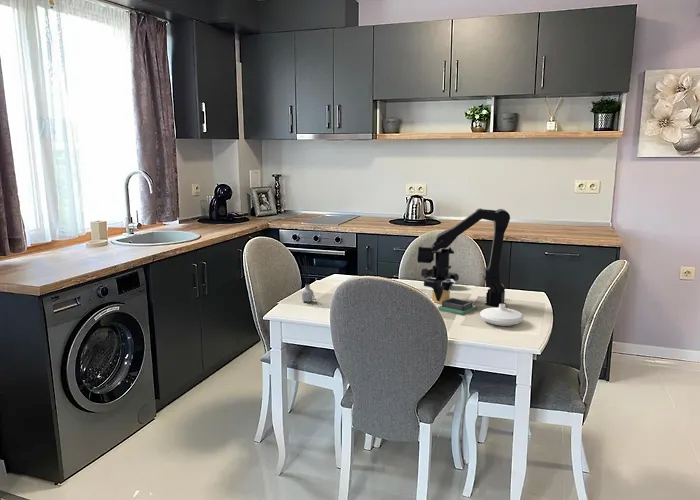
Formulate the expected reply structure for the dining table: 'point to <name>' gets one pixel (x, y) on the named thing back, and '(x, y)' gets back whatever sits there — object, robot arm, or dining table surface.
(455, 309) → the socket board
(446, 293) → the plug
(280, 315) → the dining table surface
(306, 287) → the reed diffuser
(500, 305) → the vase
